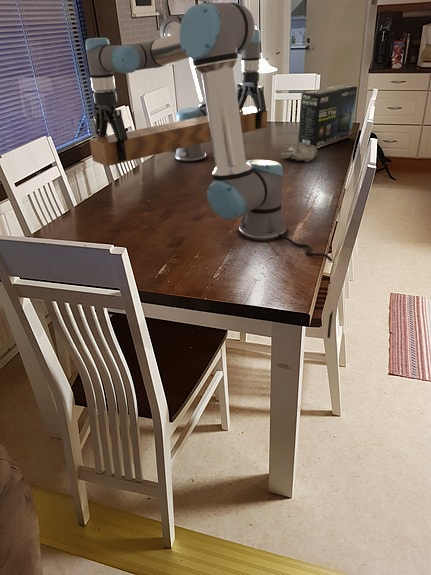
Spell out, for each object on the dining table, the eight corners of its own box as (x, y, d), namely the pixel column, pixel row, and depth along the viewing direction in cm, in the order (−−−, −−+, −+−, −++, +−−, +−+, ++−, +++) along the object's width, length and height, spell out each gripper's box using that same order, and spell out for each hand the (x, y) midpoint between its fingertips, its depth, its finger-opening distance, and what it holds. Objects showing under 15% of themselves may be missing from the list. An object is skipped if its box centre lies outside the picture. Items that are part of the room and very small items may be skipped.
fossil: (311, 156, 210) (288, 135, 213) (297, 175, 216) (275, 154, 219) (325, 153, 223) (304, 133, 226) (312, 171, 230) (290, 152, 233)
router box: (314, 151, 231) (318, 94, 217) (296, 148, 237) (299, 92, 224) (352, 138, 251) (358, 85, 238) (335, 135, 258) (340, 83, 245)
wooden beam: (107, 166, 157) (103, 144, 154) (92, 160, 164) (89, 139, 160) (266, 127, 203) (267, 109, 199) (250, 124, 209) (251, 106, 206)
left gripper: (276, 72, 186) (274, 128, 197) (238, 68, 200) (238, 121, 212) (263, 74, 182) (262, 132, 193) (225, 70, 196) (226, 124, 208)
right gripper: (132, 92, 147) (141, 161, 158) (97, 86, 161) (107, 150, 173) (112, 95, 143) (122, 166, 154) (77, 89, 157) (89, 154, 169)
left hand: (249, 126), depth 203 cm, fingers closed on wooden beam, 10 cm apart
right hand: (114, 157), depth 164 cm, fingers closed on wooden beam, 10 cm apart
